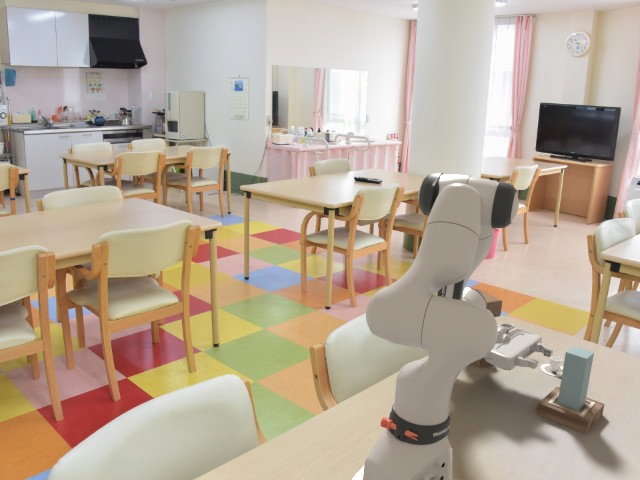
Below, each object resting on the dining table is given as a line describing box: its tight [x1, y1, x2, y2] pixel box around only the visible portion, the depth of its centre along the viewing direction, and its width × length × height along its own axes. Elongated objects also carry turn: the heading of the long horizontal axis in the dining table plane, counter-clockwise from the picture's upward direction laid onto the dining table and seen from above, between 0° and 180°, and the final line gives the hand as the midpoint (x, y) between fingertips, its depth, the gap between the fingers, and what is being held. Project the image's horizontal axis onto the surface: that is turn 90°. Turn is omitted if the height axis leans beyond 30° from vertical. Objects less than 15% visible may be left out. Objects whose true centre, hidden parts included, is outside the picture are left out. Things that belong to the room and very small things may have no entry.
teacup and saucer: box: [540, 355, 563, 378], centre depth 172 cm, size 9×8×4 cm
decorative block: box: [472, 288, 503, 368], centre depth 175 cm, size 11×6×20 cm, turn 25°
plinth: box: [536, 386, 605, 435], centre depth 149 cm, size 12×12×3 cm
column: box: [558, 345, 595, 411], centre depth 147 cm, size 5×5×14 cm
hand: (544, 359), depth 152 cm, fingers open, 8 cm apart
